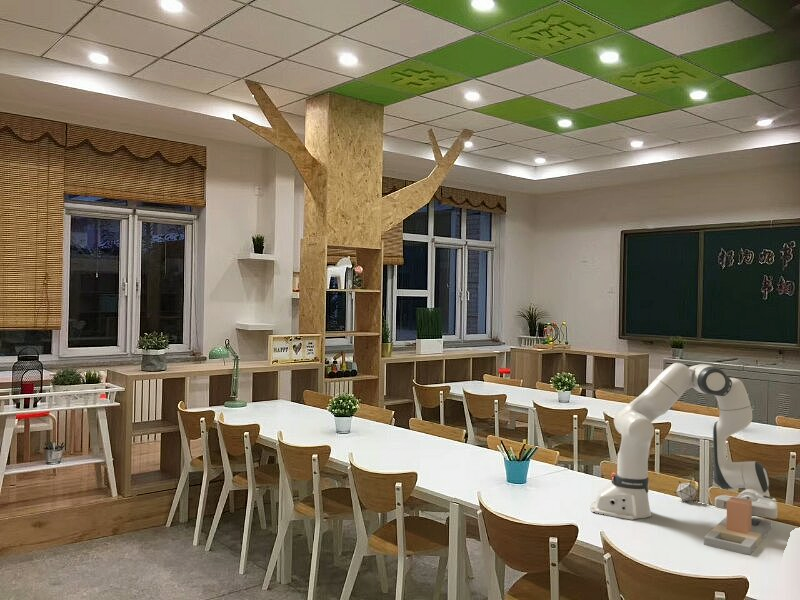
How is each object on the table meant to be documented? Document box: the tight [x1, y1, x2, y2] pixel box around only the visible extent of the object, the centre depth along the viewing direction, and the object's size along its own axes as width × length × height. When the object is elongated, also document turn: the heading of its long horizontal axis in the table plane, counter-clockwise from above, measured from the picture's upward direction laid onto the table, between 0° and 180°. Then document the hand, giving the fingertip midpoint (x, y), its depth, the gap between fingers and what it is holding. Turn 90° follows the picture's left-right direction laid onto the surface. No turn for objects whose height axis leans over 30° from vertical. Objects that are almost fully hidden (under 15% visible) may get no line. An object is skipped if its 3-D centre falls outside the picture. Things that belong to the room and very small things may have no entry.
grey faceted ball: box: [673, 480, 700, 503], centre depth 276 cm, size 9×8×10 cm
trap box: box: [703, 515, 772, 556], centre depth 235 cm, size 34×14×2 cm, turn 141°
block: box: [726, 496, 753, 534], centre depth 235 cm, size 6×6×10 cm
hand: (741, 511), depth 238 cm, fingers closed
